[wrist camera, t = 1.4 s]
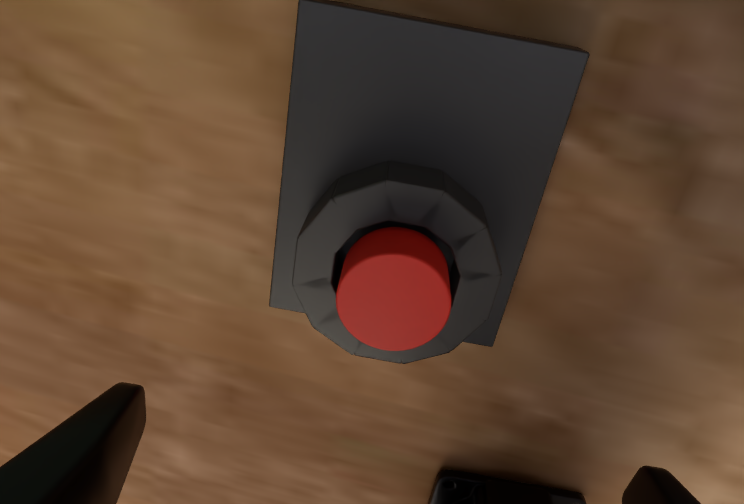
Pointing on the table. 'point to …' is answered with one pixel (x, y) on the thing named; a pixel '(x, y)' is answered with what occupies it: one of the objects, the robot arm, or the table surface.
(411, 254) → the release button
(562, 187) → the table surface
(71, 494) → the robot arm
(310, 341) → the table surface
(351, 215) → the button block
